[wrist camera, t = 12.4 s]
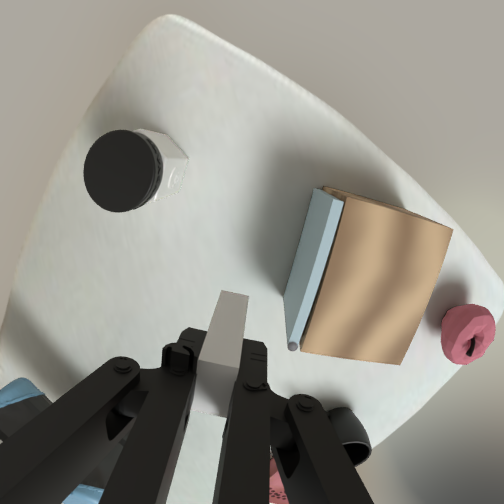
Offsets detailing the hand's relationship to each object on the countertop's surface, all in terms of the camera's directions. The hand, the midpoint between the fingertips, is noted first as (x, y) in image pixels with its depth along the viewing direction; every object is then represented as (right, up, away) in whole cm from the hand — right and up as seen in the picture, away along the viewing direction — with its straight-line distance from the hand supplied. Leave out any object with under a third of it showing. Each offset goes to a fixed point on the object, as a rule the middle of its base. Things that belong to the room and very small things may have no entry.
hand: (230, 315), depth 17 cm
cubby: (+14, +3, +24) cm, 28 cm away
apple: (+33, -7, +26) cm, 43 cm away
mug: (+15, -25, +32) cm, 43 cm away
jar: (-11, +14, +22) cm, 29 cm away
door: (+8, +4, +23) cm, 25 cm away
